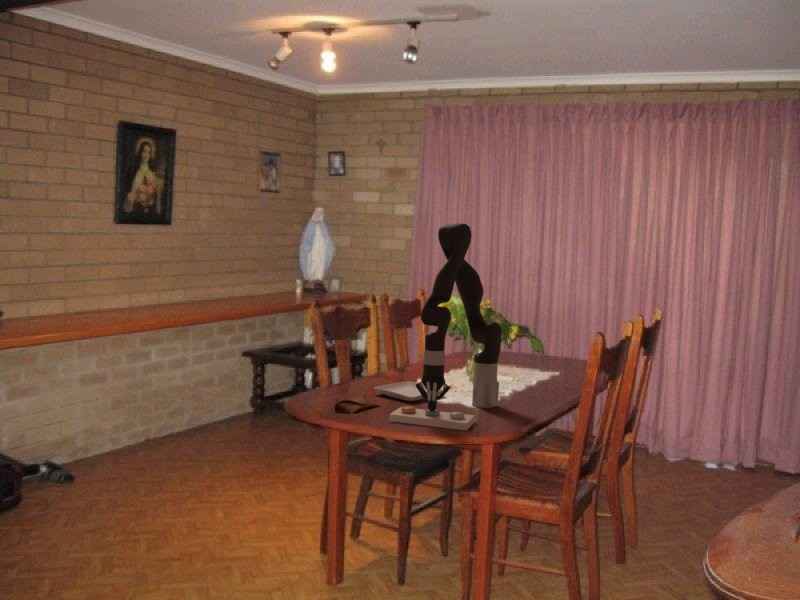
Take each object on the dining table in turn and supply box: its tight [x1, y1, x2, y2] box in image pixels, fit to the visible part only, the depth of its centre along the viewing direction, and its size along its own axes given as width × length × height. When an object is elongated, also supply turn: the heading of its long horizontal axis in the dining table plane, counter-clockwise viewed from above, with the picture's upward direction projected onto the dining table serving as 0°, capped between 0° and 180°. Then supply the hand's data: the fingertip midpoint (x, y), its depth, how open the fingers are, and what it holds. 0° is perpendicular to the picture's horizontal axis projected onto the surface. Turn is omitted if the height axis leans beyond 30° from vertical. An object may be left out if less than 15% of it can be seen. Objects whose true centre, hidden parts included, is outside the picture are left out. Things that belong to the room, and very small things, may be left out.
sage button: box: [449, 411, 466, 420], centre depth 276 cm, size 5×5×4 cm
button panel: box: [388, 406, 476, 431], centre depth 279 cm, size 28×12×2 cm, turn 71°
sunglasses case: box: [334, 394, 380, 415], centre depth 295 cm, size 18×7×7 cm
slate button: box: [424, 408, 441, 417], centre depth 279 cm, size 5×5×4 cm
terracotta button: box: [400, 405, 417, 414], centre depth 281 cm, size 5×5×4 cm
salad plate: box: [373, 381, 443, 402], centre depth 319 cm, size 21×21×3 cm
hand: (432, 410), depth 278 cm, fingers closed
